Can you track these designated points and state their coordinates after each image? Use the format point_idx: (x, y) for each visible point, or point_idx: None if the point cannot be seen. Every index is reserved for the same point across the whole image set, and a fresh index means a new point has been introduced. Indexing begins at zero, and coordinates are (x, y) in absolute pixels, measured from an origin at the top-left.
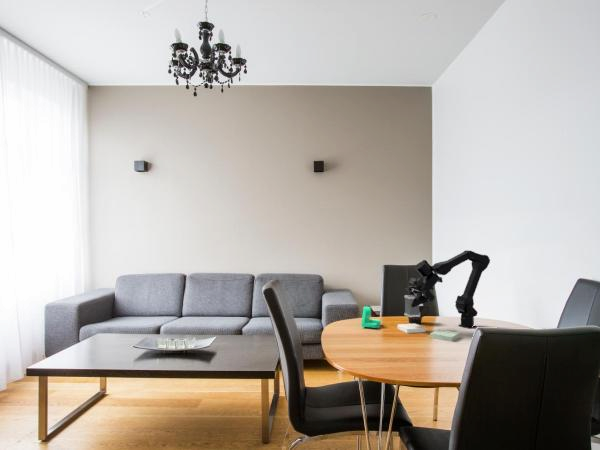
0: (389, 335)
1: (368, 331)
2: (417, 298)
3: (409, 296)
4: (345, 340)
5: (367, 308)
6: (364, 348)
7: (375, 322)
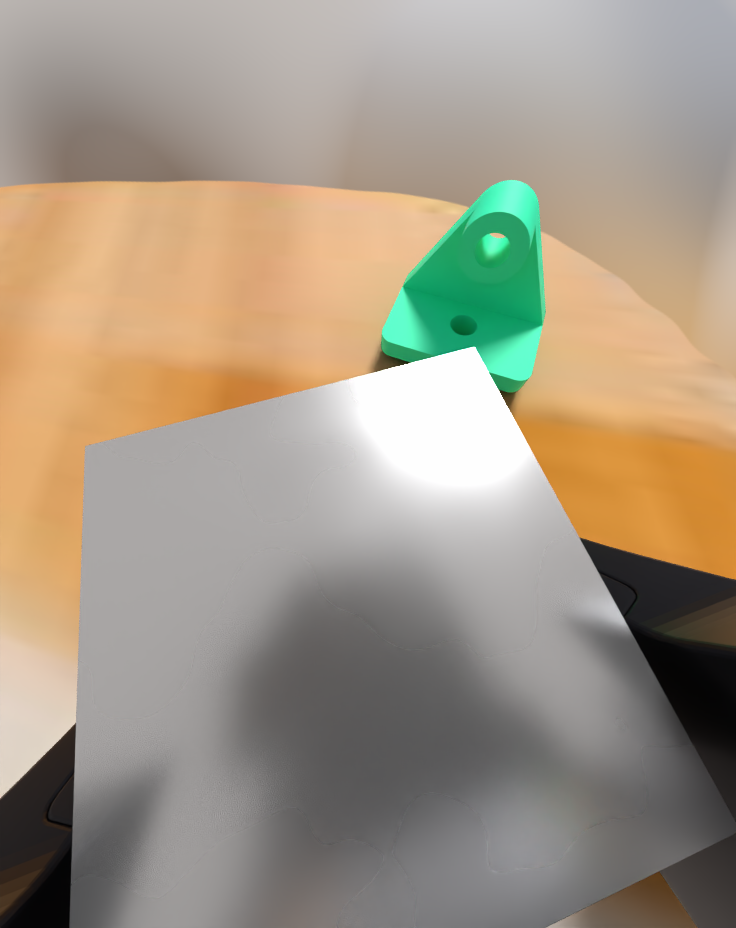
0: (241, 405)
1: (335, 321)
2: (41, 785)
3: (185, 452)
4: (182, 230)
5: (481, 207)
6: (42, 277)
7: (446, 343)
